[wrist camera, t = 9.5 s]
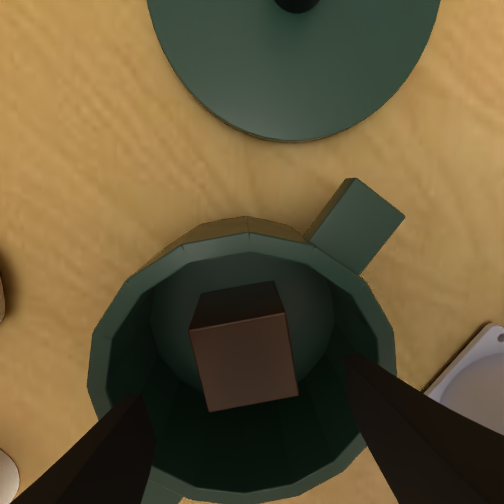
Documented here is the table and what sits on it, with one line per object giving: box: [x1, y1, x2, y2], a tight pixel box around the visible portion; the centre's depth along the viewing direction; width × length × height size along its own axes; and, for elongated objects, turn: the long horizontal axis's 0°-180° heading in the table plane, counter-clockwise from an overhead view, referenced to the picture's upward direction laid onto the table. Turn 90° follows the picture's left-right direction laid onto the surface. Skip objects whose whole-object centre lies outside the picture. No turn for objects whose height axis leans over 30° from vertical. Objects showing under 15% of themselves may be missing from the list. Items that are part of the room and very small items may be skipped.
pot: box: [87, 178, 405, 504], centre depth 13 cm, size 11×17×6 cm
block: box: [188, 281, 299, 412], centre depth 14 cm, size 4×4×4 cm
